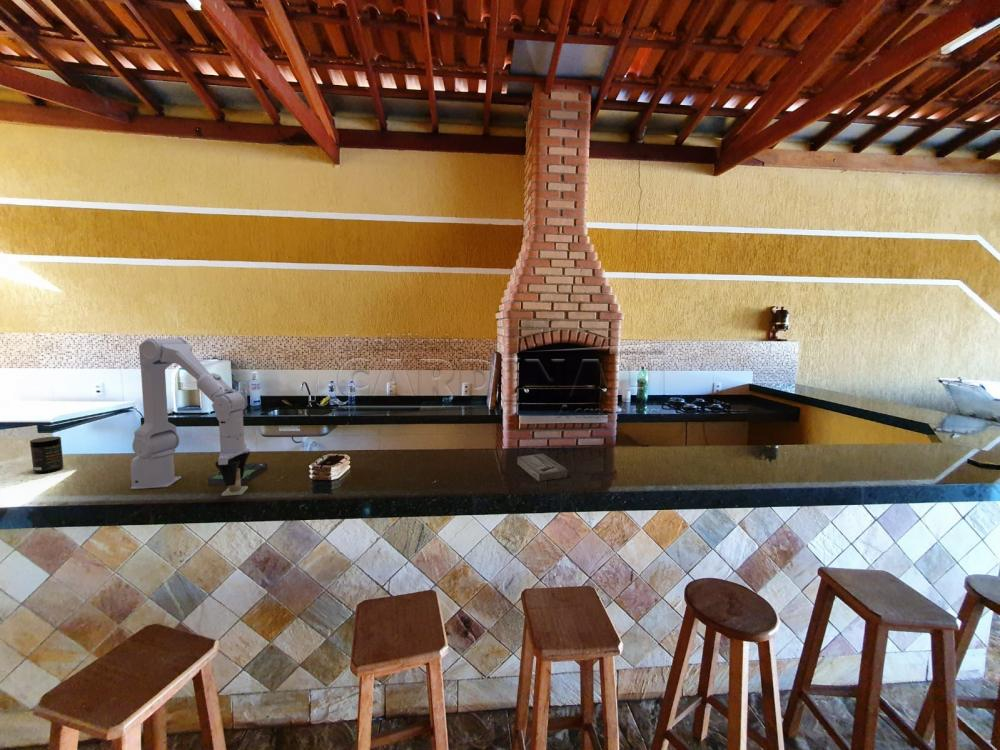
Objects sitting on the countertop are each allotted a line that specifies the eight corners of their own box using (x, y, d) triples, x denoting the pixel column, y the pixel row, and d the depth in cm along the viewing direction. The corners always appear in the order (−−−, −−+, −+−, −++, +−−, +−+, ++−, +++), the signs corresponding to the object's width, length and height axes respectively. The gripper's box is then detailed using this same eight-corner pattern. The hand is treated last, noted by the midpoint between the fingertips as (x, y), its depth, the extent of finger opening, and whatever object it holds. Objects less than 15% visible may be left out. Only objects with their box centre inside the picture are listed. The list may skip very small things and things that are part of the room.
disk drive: (235, 470, 138) (207, 487, 124) (235, 462, 138) (207, 478, 123) (268, 470, 139) (243, 487, 124) (267, 462, 139) (243, 477, 124)
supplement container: (70, 467, 137) (67, 436, 136) (50, 474, 131) (46, 441, 130) (47, 467, 137) (44, 436, 136) (26, 474, 130) (22, 442, 129)
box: (542, 460, 151) (543, 452, 151) (568, 477, 135) (568, 468, 135) (516, 464, 147) (516, 456, 147) (538, 483, 131) (539, 473, 131)
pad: (221, 495, 116) (221, 493, 116) (228, 489, 121) (228, 487, 121) (241, 494, 117) (241, 492, 117) (248, 487, 122) (247, 485, 122)
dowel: (227, 491, 118) (226, 471, 117) (231, 488, 120) (230, 468, 120) (238, 491, 118) (237, 470, 118) (242, 487, 121) (241, 467, 120)
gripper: (237, 441, 111) (240, 489, 113) (256, 428, 125) (258, 471, 127) (208, 442, 110) (211, 491, 111) (230, 429, 124) (232, 473, 125)
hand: (234, 481), depth 119 cm, fingers open, 5 cm apart
